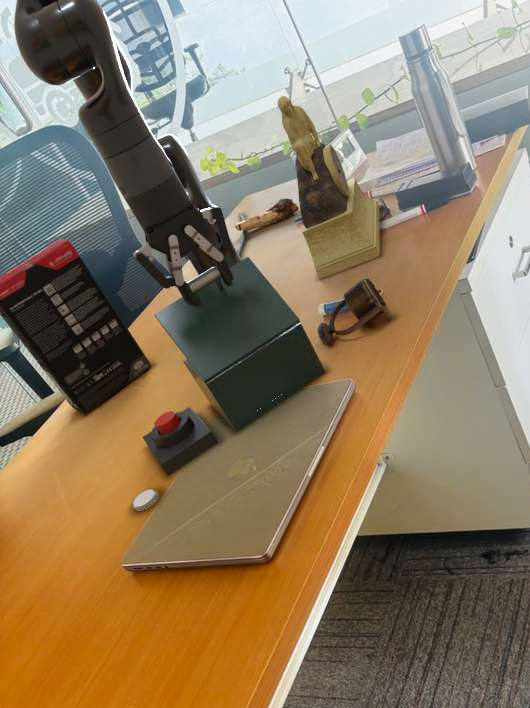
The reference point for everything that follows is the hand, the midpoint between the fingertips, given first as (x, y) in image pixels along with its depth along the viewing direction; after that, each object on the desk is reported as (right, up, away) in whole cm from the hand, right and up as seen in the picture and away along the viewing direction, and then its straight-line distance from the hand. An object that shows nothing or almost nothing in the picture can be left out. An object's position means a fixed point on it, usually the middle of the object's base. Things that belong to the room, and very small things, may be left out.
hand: (212, 294), depth 100 cm
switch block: (-7, -21, +8) cm, 24 cm away
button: (-8, -19, +6) cm, 21 cm away
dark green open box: (+6, -12, +11) cm, 18 cm away
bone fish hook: (-4, +43, +81) cm, 92 cm away
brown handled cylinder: (+21, -1, +15) cm, 26 cm away
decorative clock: (+19, +25, +47) cm, 56 cm away
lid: (+2, -3, +2) cm, 4 cm away
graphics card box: (-28, -8, +37) cm, 47 cm away
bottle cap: (-9, -30, -1) cm, 32 cm away
